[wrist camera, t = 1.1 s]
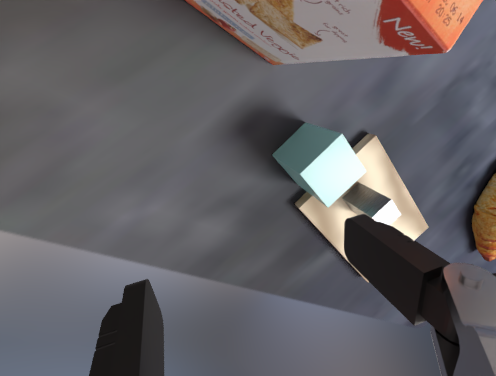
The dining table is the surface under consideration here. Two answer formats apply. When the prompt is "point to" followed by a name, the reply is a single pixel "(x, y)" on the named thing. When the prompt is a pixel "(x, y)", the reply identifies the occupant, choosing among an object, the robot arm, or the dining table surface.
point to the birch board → (377, 178)
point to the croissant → (486, 221)
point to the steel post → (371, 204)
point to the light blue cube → (320, 162)
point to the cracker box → (340, 27)
